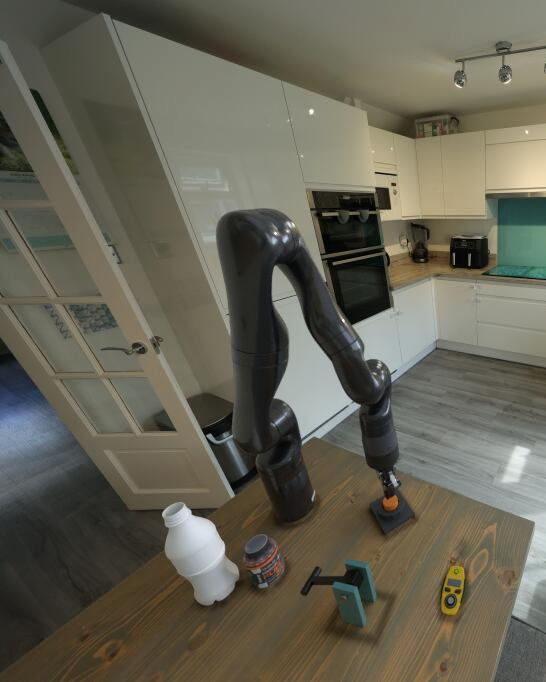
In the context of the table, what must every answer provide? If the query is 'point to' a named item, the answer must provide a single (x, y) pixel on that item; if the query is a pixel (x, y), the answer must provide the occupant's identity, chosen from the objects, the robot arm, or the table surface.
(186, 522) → the water bottle
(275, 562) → the supplement bottle
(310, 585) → the lever
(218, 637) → the table surface
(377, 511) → the control block
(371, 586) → the pair of teal panels
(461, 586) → the remote control
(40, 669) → the table surface
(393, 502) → the button
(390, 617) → the table surface
